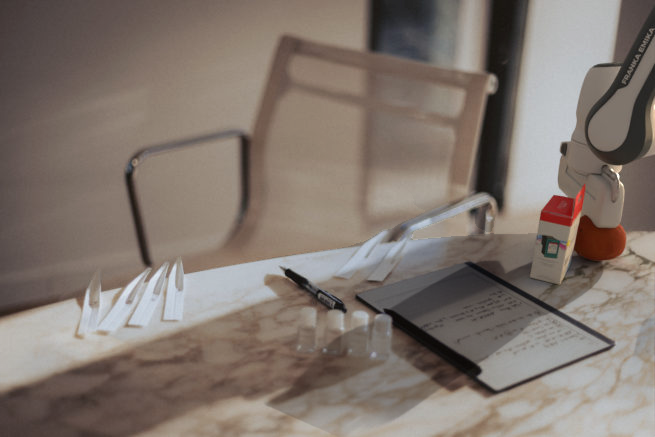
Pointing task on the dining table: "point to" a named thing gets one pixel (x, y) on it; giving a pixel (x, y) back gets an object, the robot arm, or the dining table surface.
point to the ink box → (556, 237)
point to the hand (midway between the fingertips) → (580, 230)
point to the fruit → (599, 241)
